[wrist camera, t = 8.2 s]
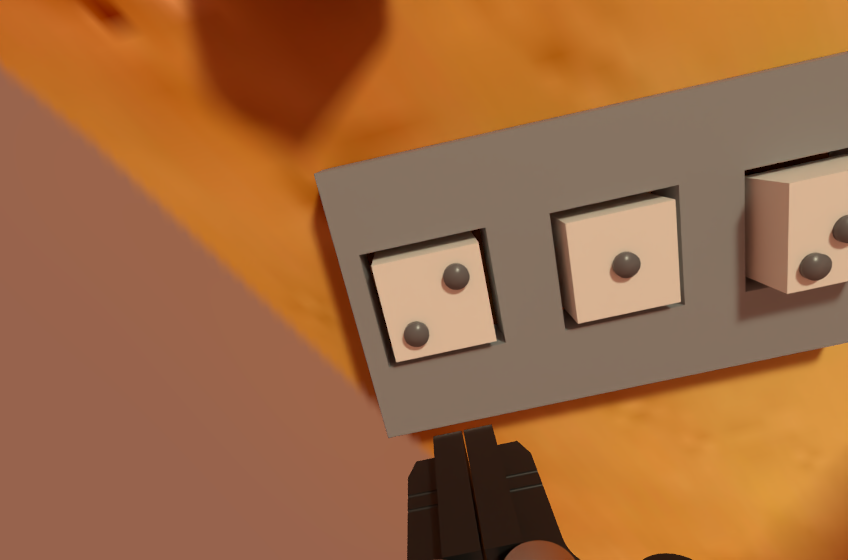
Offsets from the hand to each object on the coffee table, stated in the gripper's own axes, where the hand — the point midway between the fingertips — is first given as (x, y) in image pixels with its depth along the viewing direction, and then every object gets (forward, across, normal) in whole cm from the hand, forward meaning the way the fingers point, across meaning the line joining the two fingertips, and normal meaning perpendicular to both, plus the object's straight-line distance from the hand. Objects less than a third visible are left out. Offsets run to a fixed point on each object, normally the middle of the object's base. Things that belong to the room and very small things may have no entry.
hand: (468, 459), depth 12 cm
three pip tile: (+13, -18, 0) cm, 22 cm away
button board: (+14, -9, 0) cm, 16 cm away
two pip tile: (+14, 0, 0) cm, 14 cm away
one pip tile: (+14, -9, 0) cm, 16 cm away
